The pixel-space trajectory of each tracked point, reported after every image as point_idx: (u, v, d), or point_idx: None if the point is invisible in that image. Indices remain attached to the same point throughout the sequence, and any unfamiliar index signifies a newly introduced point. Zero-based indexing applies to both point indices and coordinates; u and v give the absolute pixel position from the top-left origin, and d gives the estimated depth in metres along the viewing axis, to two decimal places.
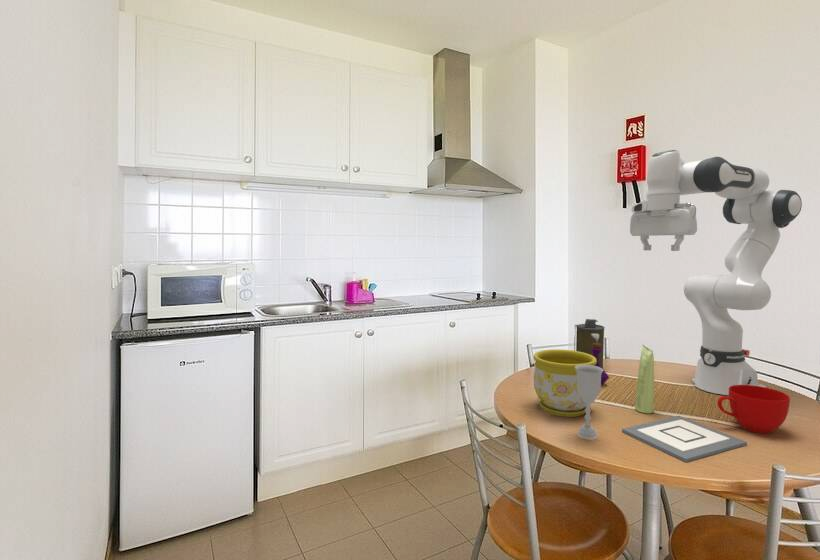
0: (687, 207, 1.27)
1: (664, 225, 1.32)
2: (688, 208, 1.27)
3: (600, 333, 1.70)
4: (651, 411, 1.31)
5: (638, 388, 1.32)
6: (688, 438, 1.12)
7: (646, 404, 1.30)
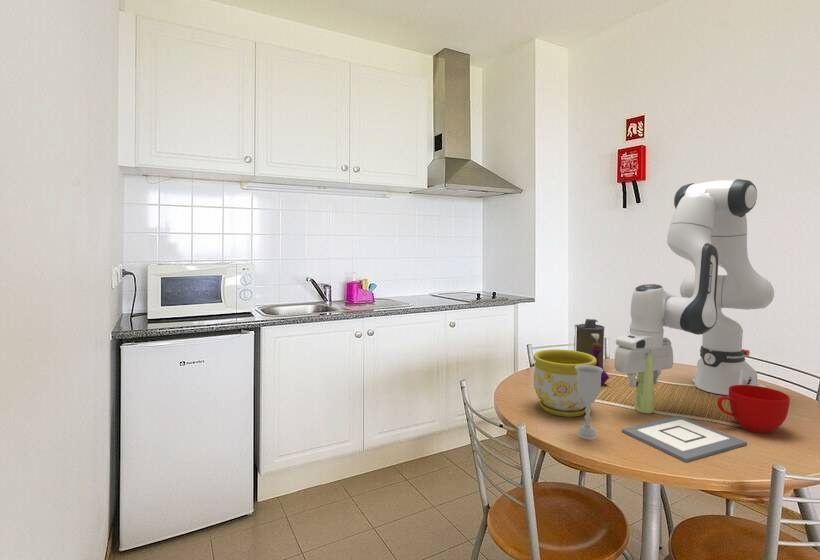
0: (666, 342, 1.34)
1: (655, 361, 1.30)
2: (667, 343, 1.34)
3: (600, 333, 1.70)
4: (651, 411, 1.31)
5: (637, 388, 1.32)
6: (688, 438, 1.12)
7: (646, 404, 1.30)
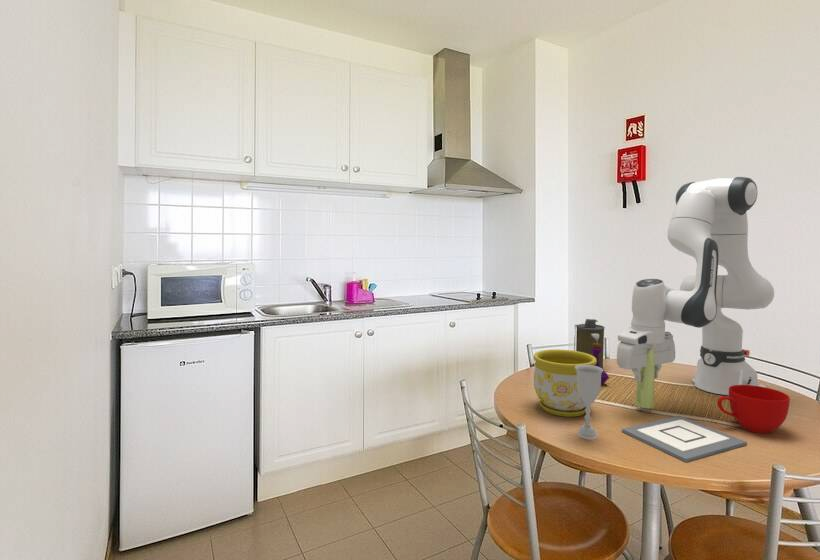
0: (668, 336, 1.34)
1: (657, 355, 1.31)
2: (669, 337, 1.34)
3: (600, 333, 1.70)
4: (651, 406, 1.31)
5: (638, 383, 1.32)
6: (688, 438, 1.12)
7: (646, 399, 1.30)
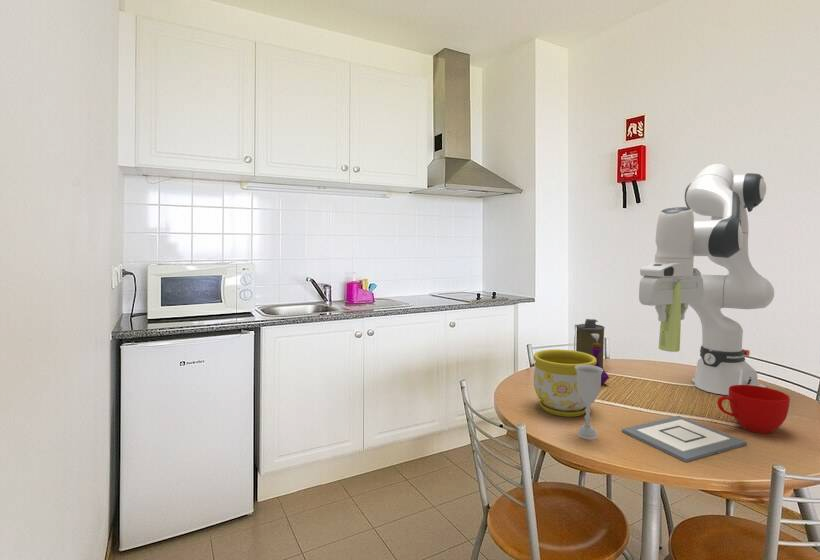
0: (695, 273, 1.20)
1: (684, 292, 1.17)
2: (696, 274, 1.20)
3: (600, 333, 1.70)
4: (677, 349, 1.17)
5: (662, 324, 1.18)
6: (688, 438, 1.12)
7: (672, 341, 1.17)
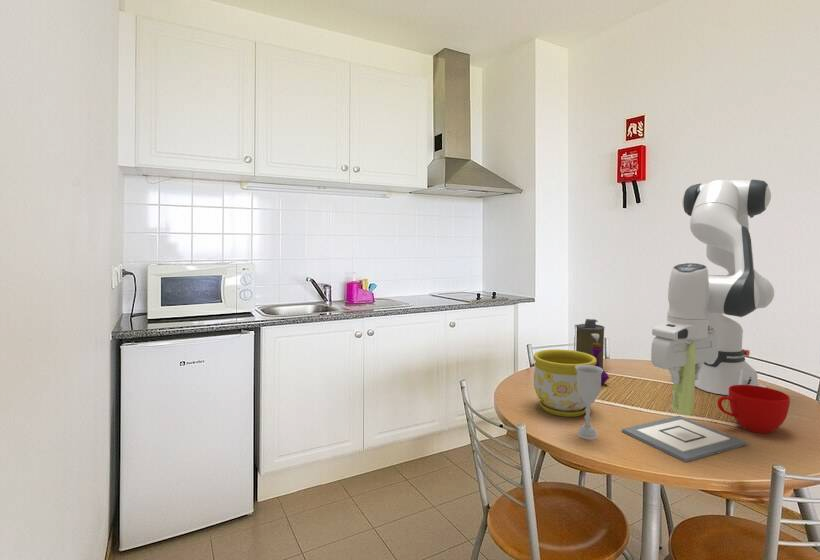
0: (709, 330, 1.15)
1: (698, 353, 1.12)
2: (710, 331, 1.15)
3: (600, 333, 1.70)
4: (691, 412, 1.12)
5: (675, 385, 1.13)
6: (688, 438, 1.12)
7: (686, 404, 1.12)
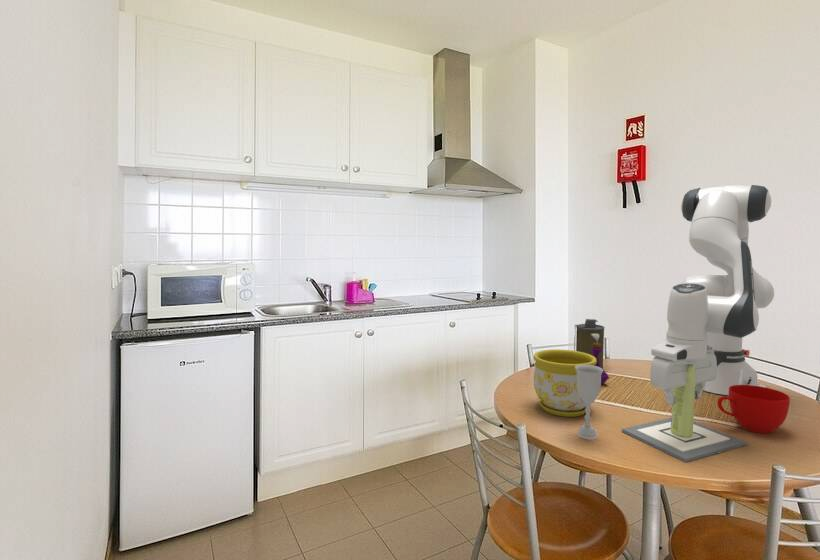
0: (708, 350, 1.15)
1: (697, 373, 1.12)
2: (709, 351, 1.15)
3: (600, 333, 1.70)
4: (690, 434, 1.12)
5: (675, 407, 1.14)
6: (688, 438, 1.12)
7: (685, 426, 1.12)
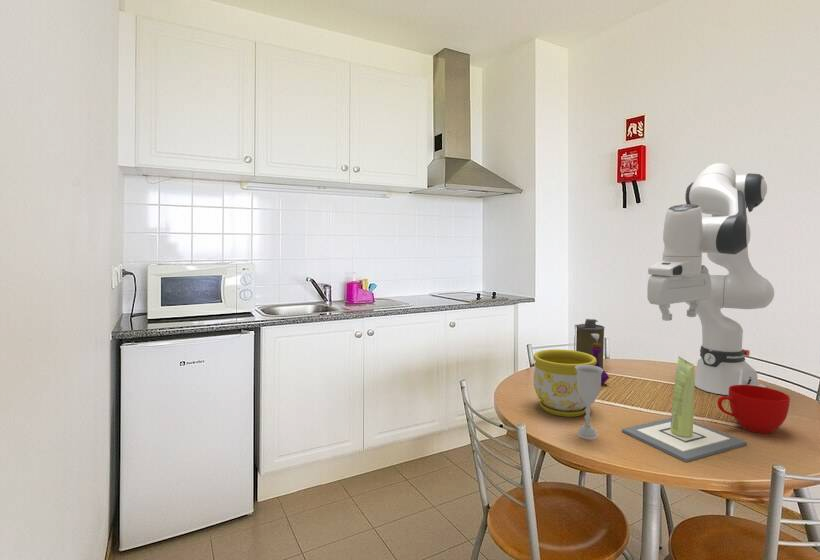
0: (703, 270, 1.19)
1: (693, 290, 1.16)
2: (704, 271, 1.19)
3: (600, 333, 1.70)
4: (690, 434, 1.12)
5: (674, 407, 1.14)
6: (688, 438, 1.12)
7: (685, 426, 1.12)
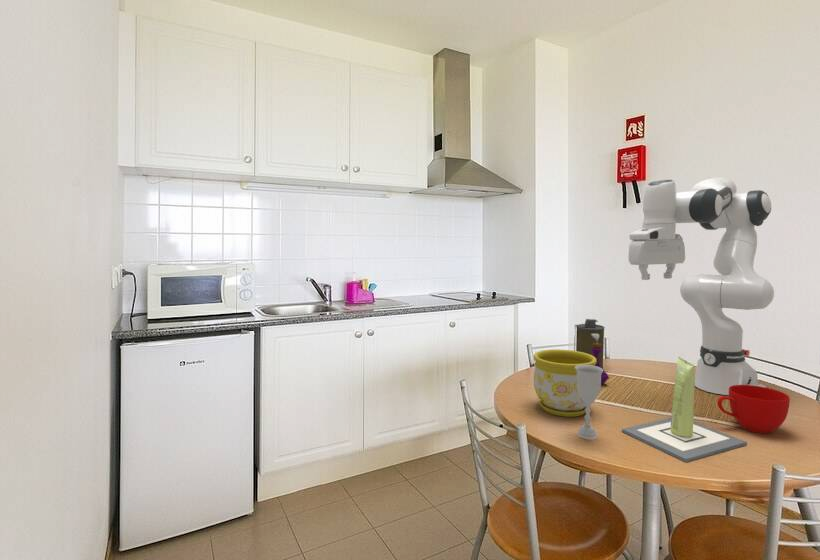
0: (678, 238, 1.38)
1: (668, 254, 1.35)
2: (679, 239, 1.38)
3: (600, 333, 1.70)
4: (690, 434, 1.12)
5: (674, 407, 1.14)
6: (688, 438, 1.12)
7: (685, 426, 1.12)
